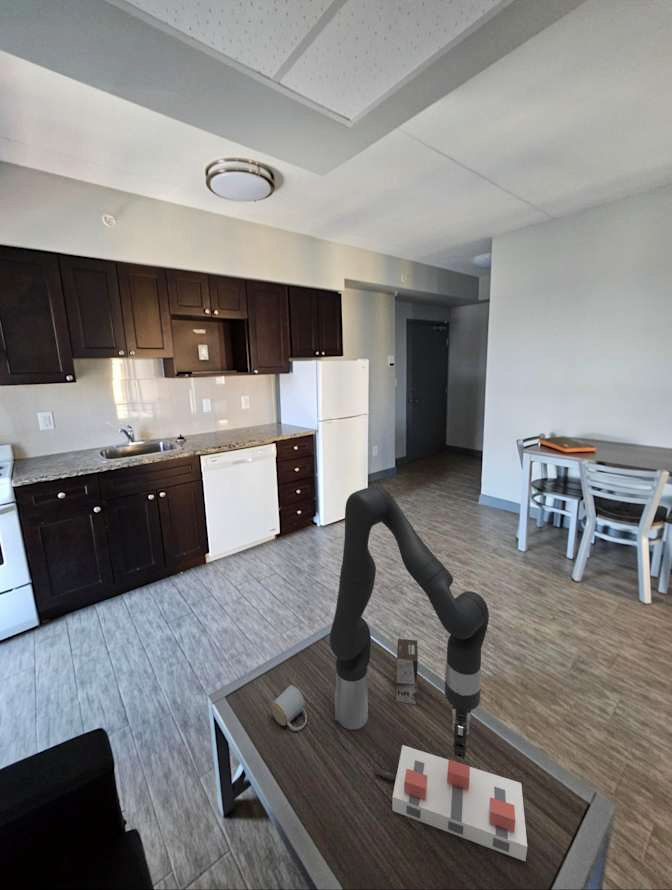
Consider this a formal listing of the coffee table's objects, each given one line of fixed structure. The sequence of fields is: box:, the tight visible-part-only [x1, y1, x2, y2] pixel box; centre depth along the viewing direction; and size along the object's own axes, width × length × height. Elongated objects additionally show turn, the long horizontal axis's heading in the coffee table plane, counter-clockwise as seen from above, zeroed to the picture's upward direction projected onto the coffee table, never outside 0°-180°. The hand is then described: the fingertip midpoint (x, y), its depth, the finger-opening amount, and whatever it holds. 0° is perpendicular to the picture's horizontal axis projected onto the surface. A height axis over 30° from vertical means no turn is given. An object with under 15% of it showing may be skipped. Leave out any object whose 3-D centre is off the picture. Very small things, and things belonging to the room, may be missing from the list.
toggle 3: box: [489, 797, 515, 832], centre depth 85 cm, size 5×3×4 cm, turn 70°
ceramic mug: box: [270, 684, 308, 732], centre depth 115 cm, size 11×8×8 cm
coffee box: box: [396, 638, 419, 705], centre depth 123 cm, size 9×6×16 cm
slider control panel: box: [373, 744, 528, 862], centre depth 94 cm, size 35×13×5 cm, turn 70°
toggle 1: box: [404, 769, 427, 800], centre depth 92 cm, size 5×3×4 cm, turn 70°
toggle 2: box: [447, 759, 471, 790], centre depth 94 cm, size 5×3×4 cm, turn 70°
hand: (460, 737), depth 88 cm, fingers open, 8 cm apart
